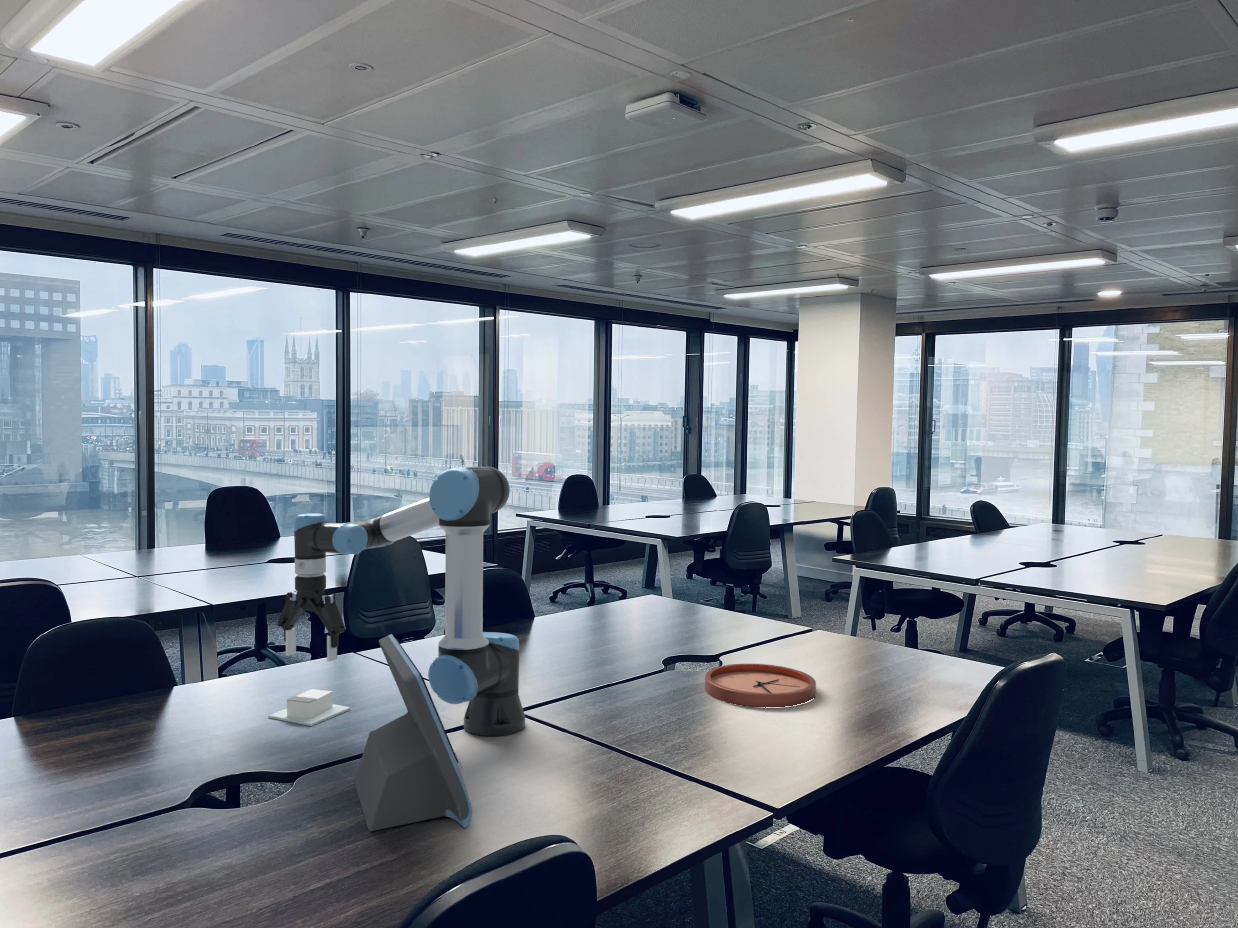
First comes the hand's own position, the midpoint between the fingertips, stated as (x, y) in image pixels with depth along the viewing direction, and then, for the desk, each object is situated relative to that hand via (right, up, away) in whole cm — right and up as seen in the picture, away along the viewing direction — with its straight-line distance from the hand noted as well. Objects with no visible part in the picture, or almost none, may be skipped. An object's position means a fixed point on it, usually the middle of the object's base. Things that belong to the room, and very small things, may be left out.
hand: (311, 657), depth 220 cm
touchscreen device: (+37, -17, -48) cm, 63 cm away
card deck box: (0, -14, +1) cm, 14 cm away
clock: (+119, -16, +27) cm, 123 cm away
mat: (-1, -15, +1) cm, 15 cm away
